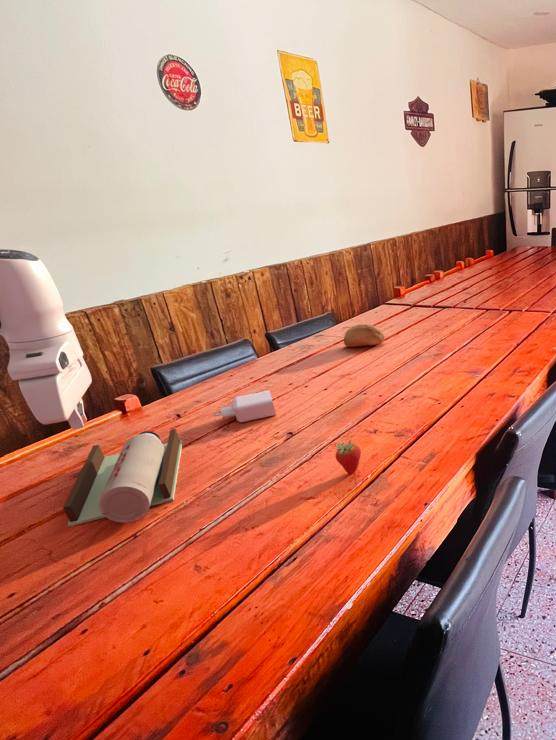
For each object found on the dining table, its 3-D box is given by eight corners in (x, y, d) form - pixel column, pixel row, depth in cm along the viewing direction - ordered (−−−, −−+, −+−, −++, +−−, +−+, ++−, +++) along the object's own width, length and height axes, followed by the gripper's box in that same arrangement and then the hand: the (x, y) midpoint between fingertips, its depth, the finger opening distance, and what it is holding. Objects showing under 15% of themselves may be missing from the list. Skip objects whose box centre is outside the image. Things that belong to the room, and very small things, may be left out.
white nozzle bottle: (215, 416, 140) (273, 404, 146) (216, 429, 132) (276, 416, 138) (210, 400, 138) (269, 388, 143) (211, 413, 130) (272, 400, 136)
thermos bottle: (108, 480, 93) (135, 419, 116) (91, 516, 94) (121, 448, 117) (156, 493, 97) (173, 431, 120) (139, 527, 98) (159, 459, 122)
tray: (68, 527, 98) (59, 509, 96) (98, 460, 121) (91, 445, 119) (173, 500, 104) (167, 483, 102) (182, 442, 127) (177, 427, 125)
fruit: (335, 472, 111) (328, 440, 107) (357, 463, 114) (351, 431, 110) (346, 481, 107) (339, 448, 104) (368, 471, 110) (363, 439, 107)
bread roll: (384, 347, 187) (381, 326, 183) (343, 351, 185) (339, 330, 182) (385, 339, 196) (382, 319, 192) (345, 343, 194) (342, 322, 190)
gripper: (43, 338, 92) (73, 407, 98) (2, 374, 75) (42, 455, 81) (84, 332, 94) (111, 400, 100) (54, 366, 77) (88, 445, 83)
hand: (80, 425), depth 91 cm, fingers closed
